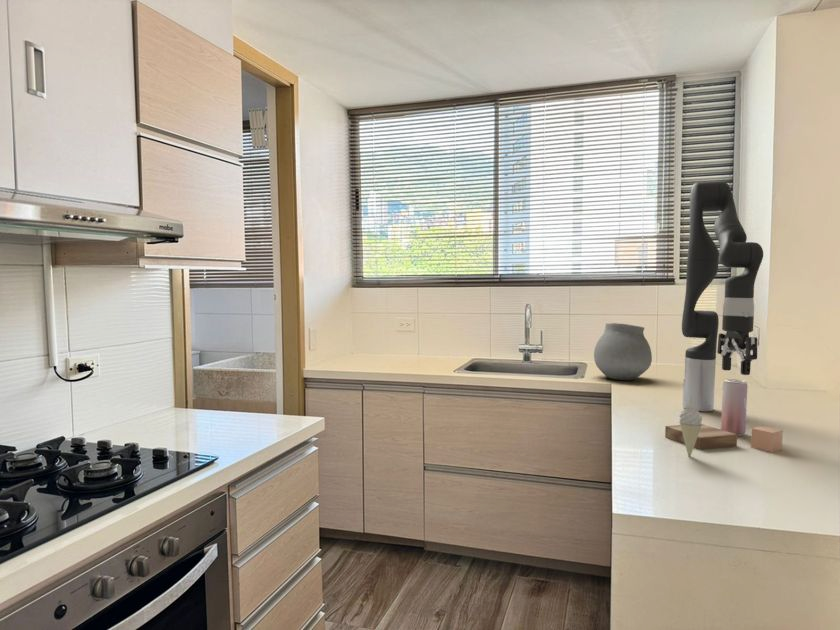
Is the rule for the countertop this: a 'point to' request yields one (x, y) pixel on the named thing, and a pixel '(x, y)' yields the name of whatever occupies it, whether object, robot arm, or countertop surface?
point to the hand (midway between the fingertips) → (735, 372)
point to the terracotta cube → (766, 439)
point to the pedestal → (704, 437)
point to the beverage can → (734, 406)
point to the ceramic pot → (622, 352)
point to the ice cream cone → (690, 424)
